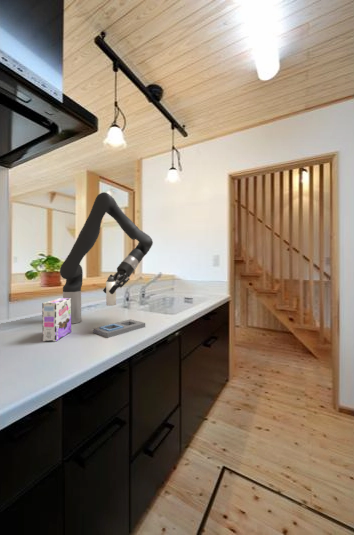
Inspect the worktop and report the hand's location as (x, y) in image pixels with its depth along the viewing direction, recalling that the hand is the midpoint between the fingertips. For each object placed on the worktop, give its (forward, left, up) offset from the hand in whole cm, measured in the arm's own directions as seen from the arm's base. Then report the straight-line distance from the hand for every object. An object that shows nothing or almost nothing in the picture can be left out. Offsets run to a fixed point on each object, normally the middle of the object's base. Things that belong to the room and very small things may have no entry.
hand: (107, 292), depth 106 cm
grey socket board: (0, +7, -19) cm, 20 cm away
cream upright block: (0, +2, -6) cm, 6 cm away
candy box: (-13, -17, -19) cm, 29 cm away
